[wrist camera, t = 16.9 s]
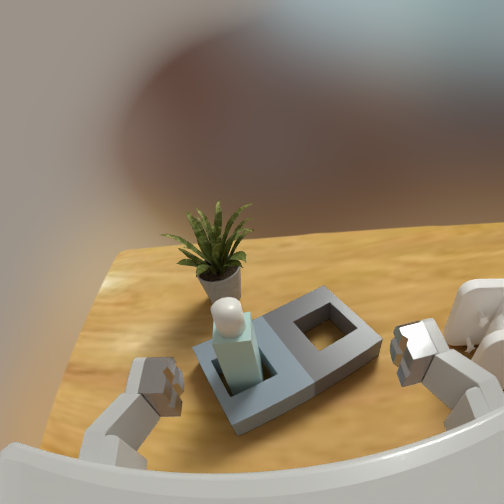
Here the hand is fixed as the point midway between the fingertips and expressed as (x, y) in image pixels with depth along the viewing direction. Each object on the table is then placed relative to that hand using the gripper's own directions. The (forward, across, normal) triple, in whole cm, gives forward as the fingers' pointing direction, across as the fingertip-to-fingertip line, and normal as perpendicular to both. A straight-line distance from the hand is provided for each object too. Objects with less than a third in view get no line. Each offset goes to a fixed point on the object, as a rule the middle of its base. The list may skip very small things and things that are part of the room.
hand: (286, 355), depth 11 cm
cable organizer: (+10, -28, +26) cm, 40 cm away
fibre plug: (+15, +5, +26) cm, 31 cm away
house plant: (+32, +7, +26) cm, 42 cm away
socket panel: (+18, 0, +26) cm, 32 cm away
